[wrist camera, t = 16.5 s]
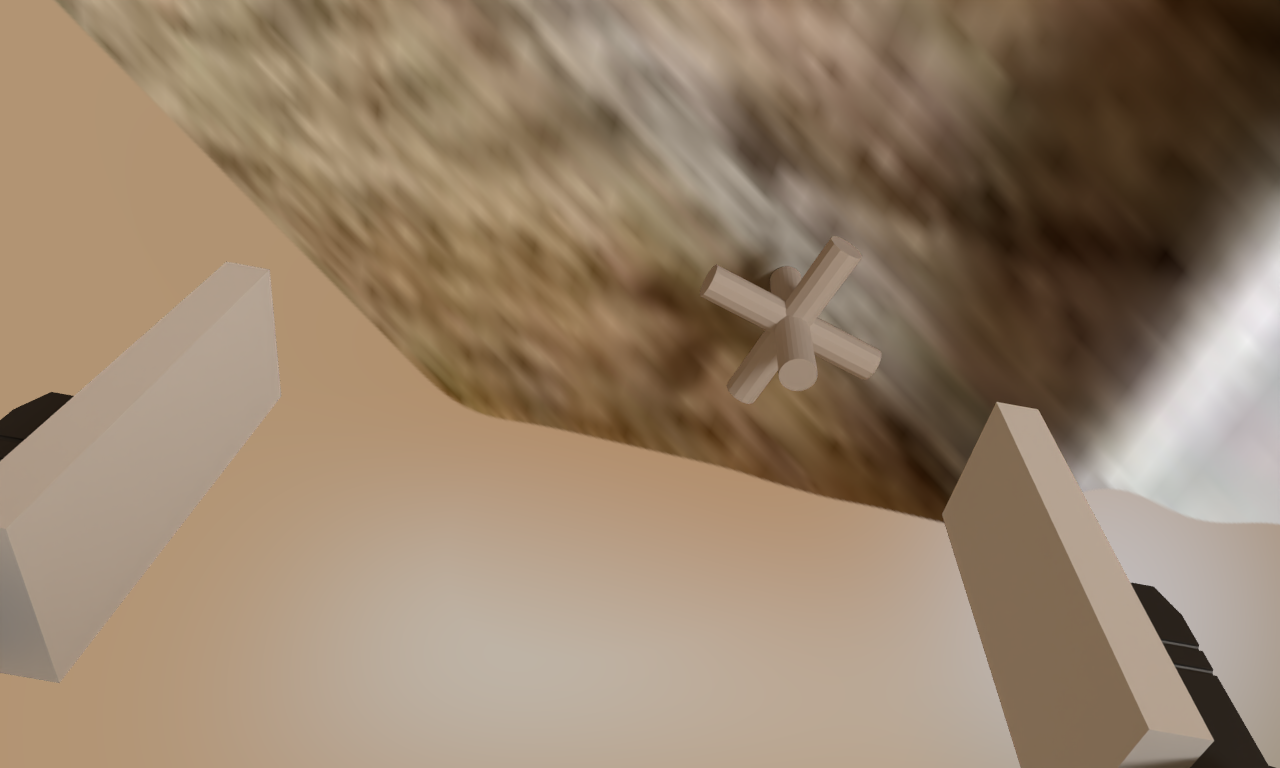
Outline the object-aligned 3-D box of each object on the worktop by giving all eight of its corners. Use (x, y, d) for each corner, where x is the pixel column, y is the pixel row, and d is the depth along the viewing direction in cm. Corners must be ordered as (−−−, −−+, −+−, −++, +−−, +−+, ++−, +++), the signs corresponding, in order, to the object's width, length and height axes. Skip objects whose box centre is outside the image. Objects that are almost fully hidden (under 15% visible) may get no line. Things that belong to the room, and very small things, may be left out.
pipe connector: (667, 308, 50) (655, 404, 42) (757, 164, 45) (764, 241, 37) (810, 381, 52) (826, 486, 44) (912, 250, 47) (952, 342, 39)
